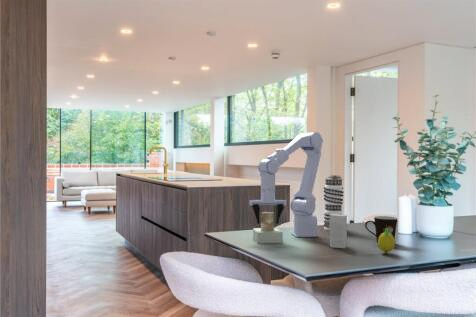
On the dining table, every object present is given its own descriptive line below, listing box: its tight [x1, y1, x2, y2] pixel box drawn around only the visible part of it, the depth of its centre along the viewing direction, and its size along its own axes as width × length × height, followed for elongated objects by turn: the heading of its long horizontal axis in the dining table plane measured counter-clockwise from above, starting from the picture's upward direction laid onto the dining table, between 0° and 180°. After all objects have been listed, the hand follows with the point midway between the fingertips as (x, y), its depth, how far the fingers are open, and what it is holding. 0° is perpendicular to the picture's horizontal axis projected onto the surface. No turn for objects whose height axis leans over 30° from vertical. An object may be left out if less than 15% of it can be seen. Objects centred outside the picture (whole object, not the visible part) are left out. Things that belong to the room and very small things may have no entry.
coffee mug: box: [364, 215, 398, 244], centre depth 164 cm, size 12×9×10 cm
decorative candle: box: [323, 174, 344, 231], centre depth 195 cm, size 9×9×25 cm
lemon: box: [377, 225, 396, 255], centre depth 145 cm, size 7×6×10 cm
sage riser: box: [252, 227, 284, 244], centre depth 167 cm, size 10×10×4 cm
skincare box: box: [329, 214, 348, 249], centre depth 156 cm, size 6×4×12 cm
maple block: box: [260, 211, 275, 231], centre depth 166 cm, size 4×4×7 cm
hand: (267, 223), depth 167 cm, fingers open, 7 cm apart
